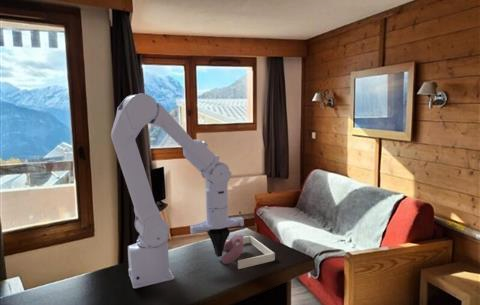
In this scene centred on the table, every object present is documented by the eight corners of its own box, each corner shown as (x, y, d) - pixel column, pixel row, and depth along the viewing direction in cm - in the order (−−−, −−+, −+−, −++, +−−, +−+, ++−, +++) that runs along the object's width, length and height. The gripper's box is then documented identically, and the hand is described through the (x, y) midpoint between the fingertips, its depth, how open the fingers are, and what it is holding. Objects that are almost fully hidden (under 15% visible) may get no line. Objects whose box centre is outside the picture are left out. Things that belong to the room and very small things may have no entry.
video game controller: (236, 270, 89) (247, 247, 88) (220, 263, 89) (231, 240, 88) (236, 254, 99) (246, 233, 98) (221, 247, 98) (232, 226, 98)
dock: (238, 269, 86) (238, 261, 86) (218, 248, 99) (218, 241, 99) (274, 260, 91) (274, 253, 91) (250, 241, 104) (250, 235, 103)
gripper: (235, 198, 96) (237, 244, 98) (186, 206, 90) (188, 254, 92) (246, 205, 90) (247, 253, 92) (194, 213, 84) (196, 265, 86)
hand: (218, 255), depth 92 cm, fingers closed
